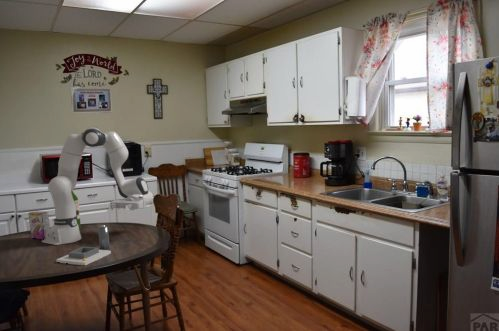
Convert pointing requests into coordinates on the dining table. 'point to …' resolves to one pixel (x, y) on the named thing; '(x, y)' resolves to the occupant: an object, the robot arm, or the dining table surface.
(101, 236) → the battery cell
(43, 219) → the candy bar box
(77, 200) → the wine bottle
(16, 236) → the dining table surface
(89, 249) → the white board with tray
